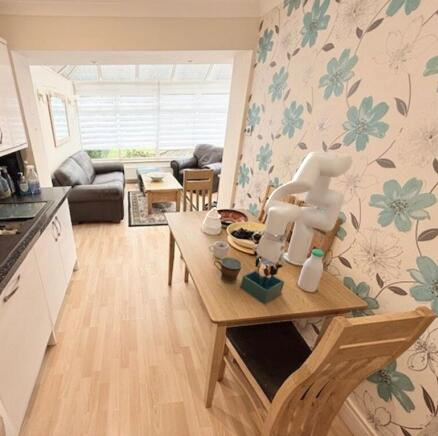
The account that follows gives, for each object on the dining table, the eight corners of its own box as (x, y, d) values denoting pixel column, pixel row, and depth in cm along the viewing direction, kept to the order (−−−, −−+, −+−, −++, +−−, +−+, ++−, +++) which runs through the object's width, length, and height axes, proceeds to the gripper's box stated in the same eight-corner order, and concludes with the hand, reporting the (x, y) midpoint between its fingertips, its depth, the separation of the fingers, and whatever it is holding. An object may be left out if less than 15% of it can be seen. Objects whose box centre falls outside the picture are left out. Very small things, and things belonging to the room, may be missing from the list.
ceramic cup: (239, 275, 123) (242, 259, 119) (238, 287, 114) (242, 270, 110) (213, 270, 127) (215, 254, 123) (211, 281, 118) (213, 265, 114)
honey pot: (222, 234, 164) (226, 210, 157) (204, 234, 164) (206, 210, 157) (218, 226, 176) (221, 203, 168) (200, 226, 176) (202, 203, 169)
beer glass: (271, 294, 108) (278, 266, 102) (254, 291, 109) (260, 264, 103) (267, 284, 114) (273, 257, 108) (251, 282, 115) (257, 256, 109)
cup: (207, 257, 138) (208, 245, 135) (209, 250, 145) (210, 239, 142) (226, 261, 134) (228, 249, 131) (227, 254, 141) (229, 242, 138)
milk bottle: (316, 294, 109) (329, 258, 101) (297, 288, 113) (308, 252, 105) (316, 285, 115) (328, 249, 107) (297, 280, 119) (308, 245, 111)
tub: (257, 278, 120) (259, 267, 117) (281, 293, 110) (284, 281, 107) (240, 287, 114) (242, 275, 111) (264, 303, 104) (267, 291, 101)
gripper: (299, 241, 95) (288, 277, 102) (260, 225, 109) (254, 258, 116) (288, 246, 92) (278, 283, 99) (250, 229, 105) (243, 263, 113)
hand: (265, 270), depth 107 cm, fingers closed on beer glass, 7 cm apart
